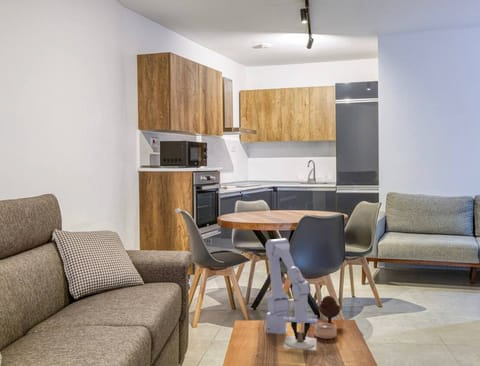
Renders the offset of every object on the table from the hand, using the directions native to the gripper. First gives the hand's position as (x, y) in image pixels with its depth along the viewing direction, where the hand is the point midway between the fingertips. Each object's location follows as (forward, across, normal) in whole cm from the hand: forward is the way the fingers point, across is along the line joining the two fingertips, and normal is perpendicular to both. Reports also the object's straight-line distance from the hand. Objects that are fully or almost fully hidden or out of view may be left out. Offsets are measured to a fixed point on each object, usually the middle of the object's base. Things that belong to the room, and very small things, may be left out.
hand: (300, 339), depth 219 cm
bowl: (+2, +11, +11) cm, 16 cm away
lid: (+2, 0, 0) cm, 2 cm away
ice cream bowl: (+2, +13, +27) cm, 30 cm away
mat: (+2, 0, 0) cm, 2 cm away
